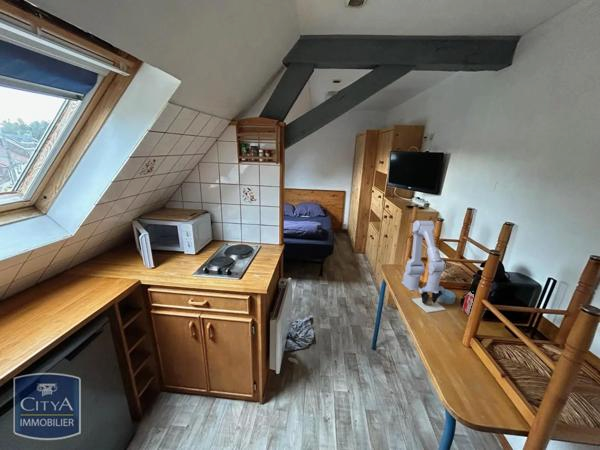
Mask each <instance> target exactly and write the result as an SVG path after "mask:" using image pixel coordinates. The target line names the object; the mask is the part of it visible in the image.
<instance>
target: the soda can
mask: <svg viewBox="0 0 600 450" xmlns="http://www.w3.org/2000/svg"><path fill="white" fill-rule="evenodd" d="M471 291H472V290H471ZM471 291H468V292H467V294H466V295H465V298H464V301H463V306H462V312H463V314H465V315H467V316H469V313H470V309H471V306H472V303H473V299H474V294H472V293H471ZM469 317H470V316H469Z"/></svg>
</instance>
